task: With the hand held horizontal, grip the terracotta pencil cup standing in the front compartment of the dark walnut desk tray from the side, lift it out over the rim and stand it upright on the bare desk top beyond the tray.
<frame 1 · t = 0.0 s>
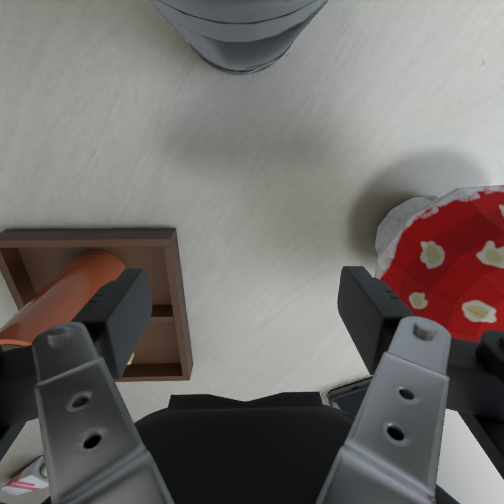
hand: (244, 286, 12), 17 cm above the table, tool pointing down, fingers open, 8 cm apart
pencil cup: (101, 274, 31), resting on tray
tray: (112, 306, 34), on the table
divider: (107, 314, 32), in the tray, point 1 cm above the table
paintbrush: (53, 459, 47), on the table
phone: (365, 413, 44), on the table
decorative mushroom: (407, 228, 30), on the table
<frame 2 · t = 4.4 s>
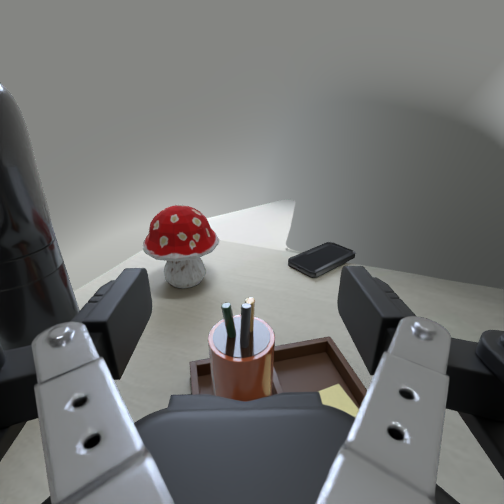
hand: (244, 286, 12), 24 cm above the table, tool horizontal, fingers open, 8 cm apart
pencil cup: (242, 426, 31), resting on tray
tray: (283, 419, 32), on the table
divider: (284, 410, 32), in the tray, point 1 cm above the table
note pad: (330, 423, 31), resting on tray
phone: (321, 260, 66), on the table
decorative mushroom: (186, 280, 58), on the table
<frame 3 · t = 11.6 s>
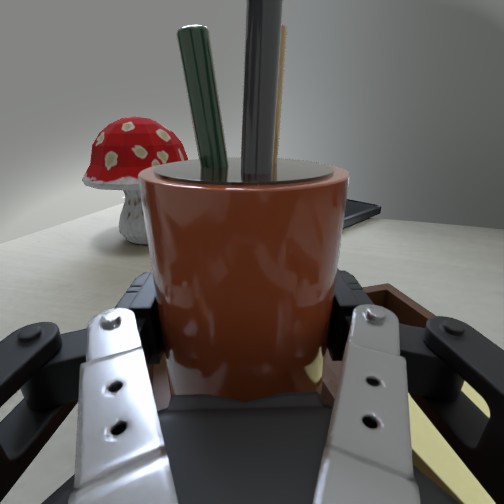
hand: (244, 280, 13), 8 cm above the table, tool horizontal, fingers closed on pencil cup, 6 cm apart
pencil cup: (246, 450, 13), point 1 cm above the table, touching gripper, tray
tray: (334, 430, 15), on the table
divider: (338, 410, 14), in the tray, point 1 cm above the table
note pad: (443, 436, 14), resting on tray
phone: (338, 217, 49), on the table
decorative mushroom: (152, 237, 41), on the table
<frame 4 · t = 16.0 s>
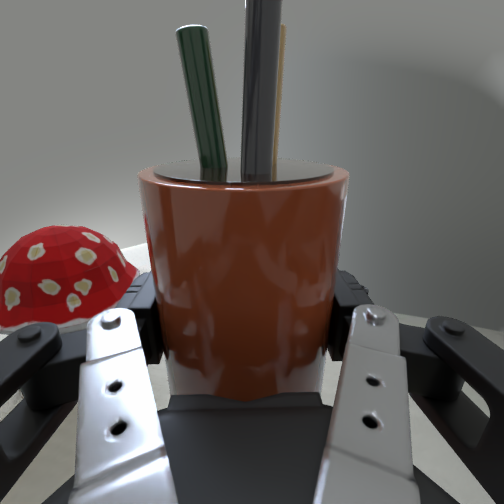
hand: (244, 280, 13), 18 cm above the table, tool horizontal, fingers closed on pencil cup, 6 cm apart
pencil cup: (246, 451, 13), point 10 cm above the table, touching gripper
decorative mushroom: (89, 354, 34), on the table
when the fingers open (7 cm above the table, at t = 20.6 s): pencil cup stays where it is, on the table.
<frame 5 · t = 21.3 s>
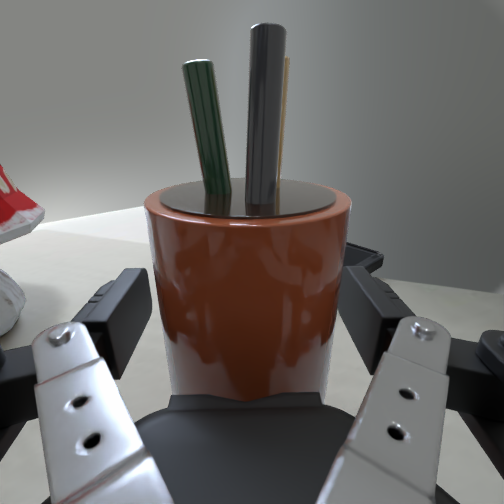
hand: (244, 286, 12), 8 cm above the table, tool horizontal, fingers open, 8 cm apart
pencil cup: (249, 463, 14), on the table
phone: (316, 274, 31), on the table
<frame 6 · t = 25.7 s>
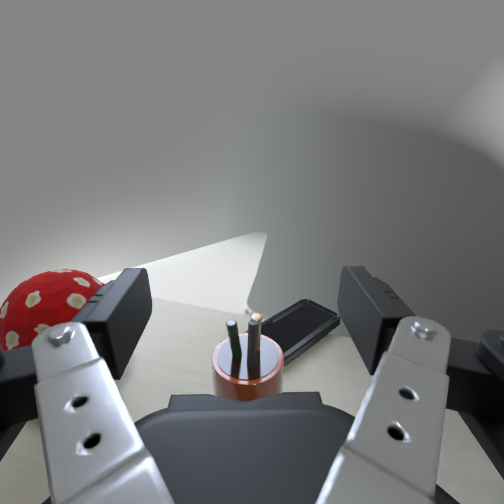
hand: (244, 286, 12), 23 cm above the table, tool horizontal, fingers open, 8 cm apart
pencil cup: (249, 455, 29), on the table
phone: (293, 331, 46), on the table
decorative mushroom: (81, 381, 37), on the table
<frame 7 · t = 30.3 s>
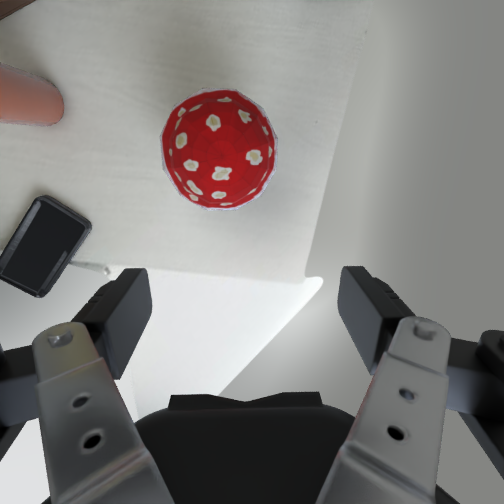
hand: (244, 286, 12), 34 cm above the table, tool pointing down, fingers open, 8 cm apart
pencil cup: (39, 101, 37), on the table
phone: (45, 247, 44), on the table
decorative mushroom: (219, 150, 42), on the table
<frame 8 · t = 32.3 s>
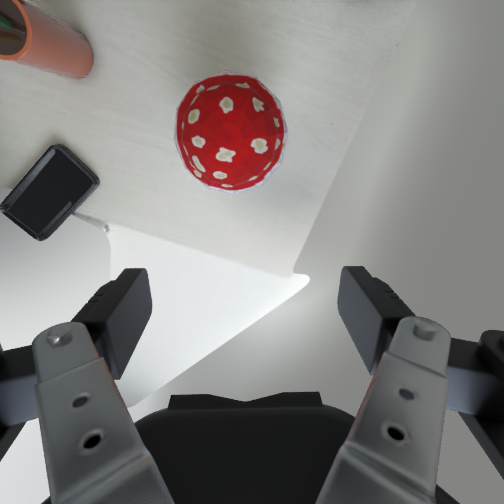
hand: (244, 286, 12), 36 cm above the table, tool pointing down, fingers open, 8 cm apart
pencil cup: (70, 53, 39), on the table
phone: (52, 194, 46), on the table
decorative mushroom: (233, 134, 43), on the table
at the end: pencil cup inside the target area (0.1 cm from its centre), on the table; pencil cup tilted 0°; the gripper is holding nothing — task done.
